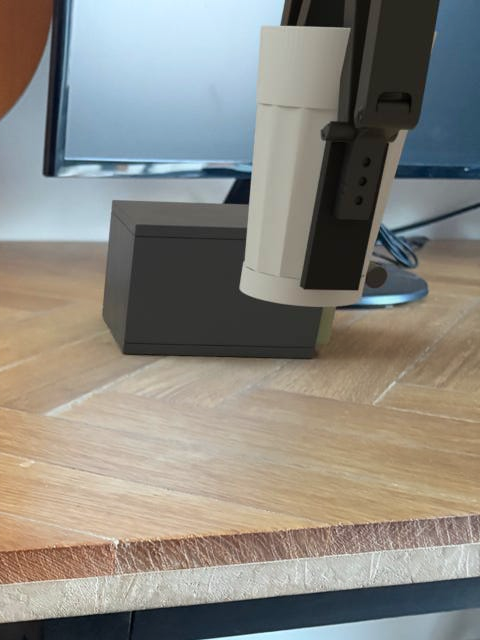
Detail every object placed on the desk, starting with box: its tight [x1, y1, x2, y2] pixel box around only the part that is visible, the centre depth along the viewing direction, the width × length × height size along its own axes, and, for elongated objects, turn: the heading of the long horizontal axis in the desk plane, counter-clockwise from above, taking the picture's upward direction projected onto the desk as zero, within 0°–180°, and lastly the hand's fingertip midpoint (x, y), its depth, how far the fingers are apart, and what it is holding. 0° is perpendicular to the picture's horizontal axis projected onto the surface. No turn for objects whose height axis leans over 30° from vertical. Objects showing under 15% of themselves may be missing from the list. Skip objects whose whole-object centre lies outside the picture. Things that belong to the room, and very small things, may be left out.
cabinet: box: [101, 199, 323, 359], centre depth 77 cm, size 15×12×9 cm
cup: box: [239, 25, 438, 307], centre depth 50 cm, size 8×8×12 cm
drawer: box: [316, 260, 388, 346], centre depth 78 cm, size 18×10×7 cm, turn 93°
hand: (303, 270), depth 52 cm, fingers closed on cup, 7 cm apart
